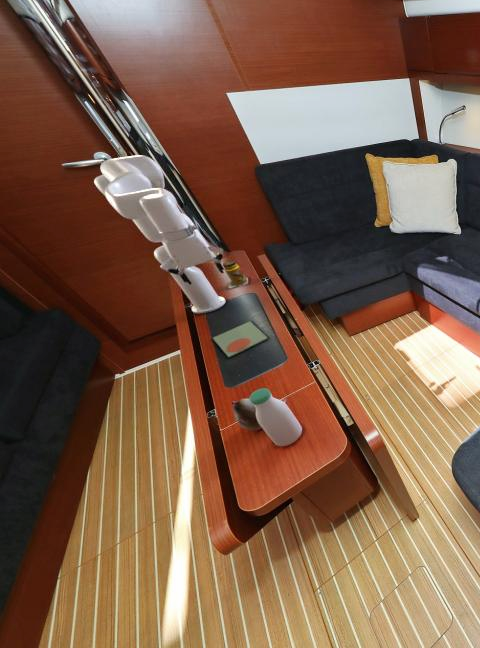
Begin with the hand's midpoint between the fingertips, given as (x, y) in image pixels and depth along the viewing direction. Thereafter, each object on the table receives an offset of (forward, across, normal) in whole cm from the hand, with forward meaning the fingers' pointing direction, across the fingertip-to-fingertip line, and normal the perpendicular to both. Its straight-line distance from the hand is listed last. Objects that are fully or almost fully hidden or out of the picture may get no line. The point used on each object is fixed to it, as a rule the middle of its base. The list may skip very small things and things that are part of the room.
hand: (206, 277), depth 117 cm
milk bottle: (+29, +9, +61) cm, 68 cm away
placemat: (+30, +2, -1) cm, 30 cm away
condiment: (+31, -14, -51) cm, 62 cm away
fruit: (+30, +12, +49) cm, 58 cm away
